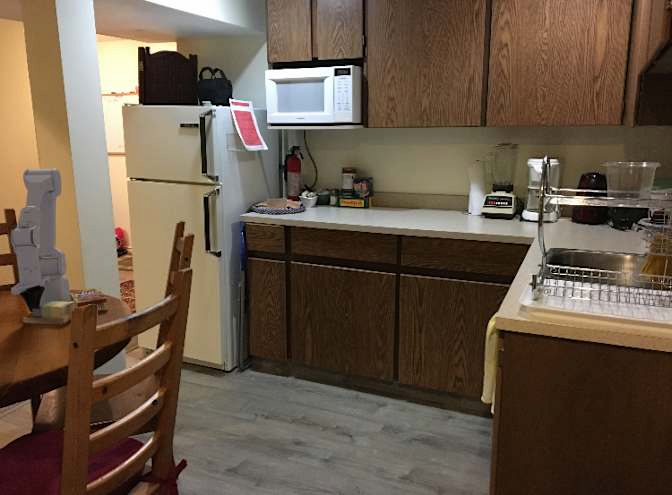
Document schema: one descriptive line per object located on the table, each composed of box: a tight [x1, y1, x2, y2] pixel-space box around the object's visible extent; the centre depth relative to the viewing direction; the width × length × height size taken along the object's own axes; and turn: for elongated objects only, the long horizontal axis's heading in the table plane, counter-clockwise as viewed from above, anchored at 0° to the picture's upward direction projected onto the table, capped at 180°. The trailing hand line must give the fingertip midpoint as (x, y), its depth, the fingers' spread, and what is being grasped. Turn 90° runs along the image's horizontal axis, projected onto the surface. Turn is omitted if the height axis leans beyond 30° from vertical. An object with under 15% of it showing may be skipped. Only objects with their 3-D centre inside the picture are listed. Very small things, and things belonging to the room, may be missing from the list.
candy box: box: [70, 287, 109, 312], centre depth 186 cm, size 9×4×15 cm
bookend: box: [32, 304, 44, 318], centre depth 174 cm, size 5×3×4 cm, turn 171°
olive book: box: [41, 301, 61, 318], centre depth 173 cm, size 5×3×5 cm, turn 171°
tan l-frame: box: [22, 300, 75, 325], centre depth 173 cm, size 7×13×5 cm, turn 81°
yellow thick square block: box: [50, 301, 69, 318], centre depth 173 cm, size 5×3×5 cm, turn 171°
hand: (34, 311), depth 174 cm, fingers closed, pressing on bookend
